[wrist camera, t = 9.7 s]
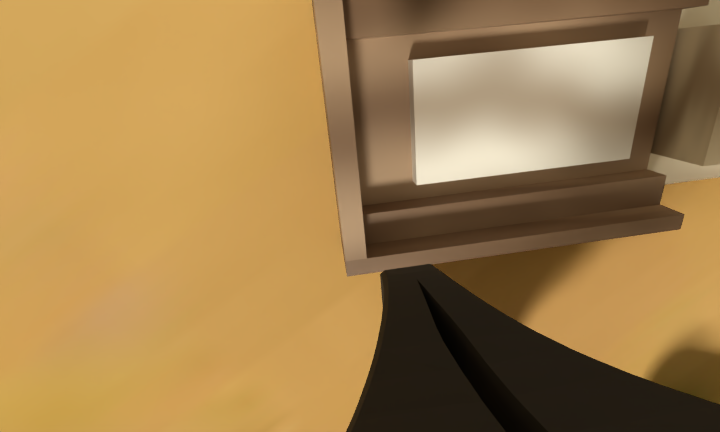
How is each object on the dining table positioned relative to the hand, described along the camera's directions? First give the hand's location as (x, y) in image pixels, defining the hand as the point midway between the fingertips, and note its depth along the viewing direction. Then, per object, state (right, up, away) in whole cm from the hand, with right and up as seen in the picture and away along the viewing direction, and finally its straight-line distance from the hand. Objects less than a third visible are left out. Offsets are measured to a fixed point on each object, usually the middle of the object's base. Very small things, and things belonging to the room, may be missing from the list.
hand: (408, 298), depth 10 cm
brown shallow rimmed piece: (+5, +7, +8) cm, 12 cm away
